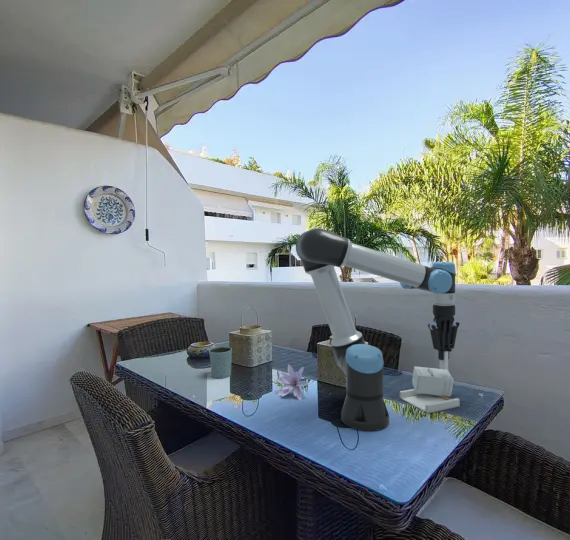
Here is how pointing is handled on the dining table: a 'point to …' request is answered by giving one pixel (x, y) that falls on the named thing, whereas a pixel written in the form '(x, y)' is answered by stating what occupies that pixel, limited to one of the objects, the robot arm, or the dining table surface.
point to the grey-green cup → (220, 362)
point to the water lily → (291, 382)
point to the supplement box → (432, 381)
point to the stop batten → (444, 397)
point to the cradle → (428, 401)
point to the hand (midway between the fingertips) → (443, 368)
